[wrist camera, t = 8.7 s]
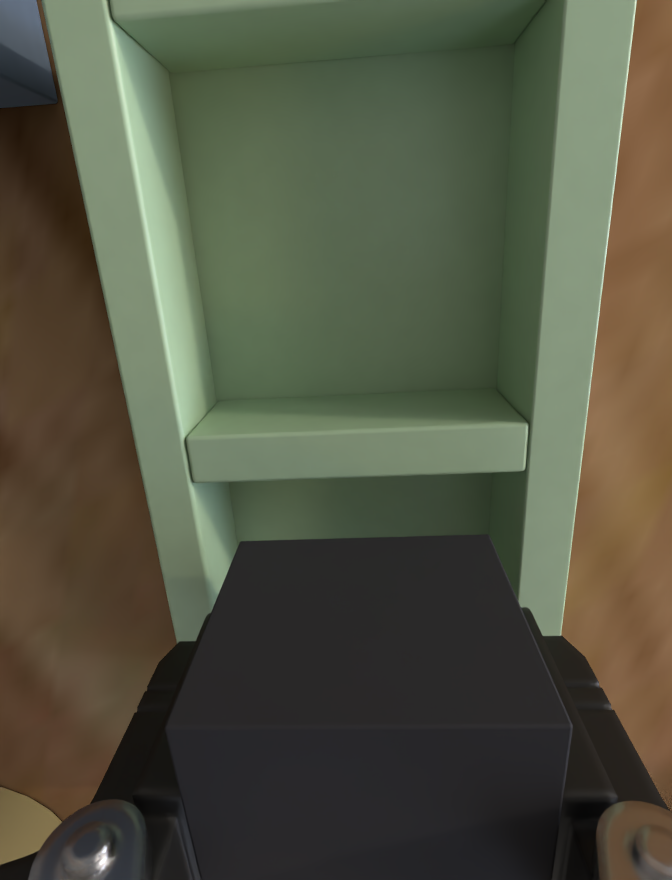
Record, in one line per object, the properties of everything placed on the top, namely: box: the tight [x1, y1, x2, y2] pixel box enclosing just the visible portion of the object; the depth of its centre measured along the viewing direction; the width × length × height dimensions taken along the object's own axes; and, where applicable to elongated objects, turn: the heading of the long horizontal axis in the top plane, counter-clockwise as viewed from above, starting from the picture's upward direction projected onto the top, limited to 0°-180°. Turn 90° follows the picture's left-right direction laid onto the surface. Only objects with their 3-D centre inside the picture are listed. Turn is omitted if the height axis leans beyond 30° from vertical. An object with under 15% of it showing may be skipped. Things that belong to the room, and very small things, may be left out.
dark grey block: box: [164, 534, 573, 880], centre depth 8 cm, size 5×5×4 cm
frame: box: [41, 0, 637, 643], centre depth 11 cm, size 8×16×3 cm, turn 3°
